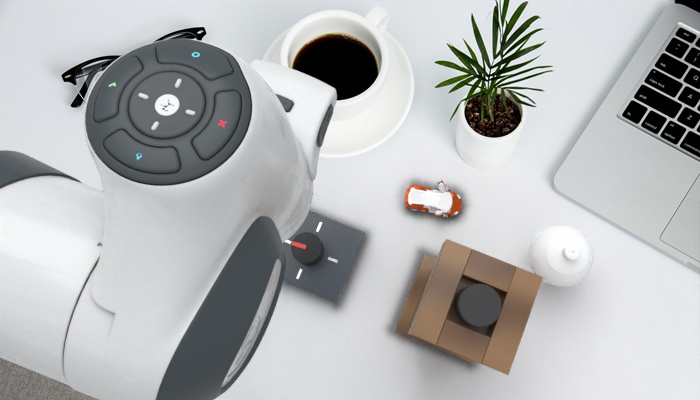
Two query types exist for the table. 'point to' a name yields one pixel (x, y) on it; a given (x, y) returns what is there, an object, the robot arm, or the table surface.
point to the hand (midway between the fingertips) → (277, 217)
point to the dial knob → (307, 248)
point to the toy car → (433, 200)
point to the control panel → (324, 257)
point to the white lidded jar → (561, 255)
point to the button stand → (439, 306)
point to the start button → (478, 305)
